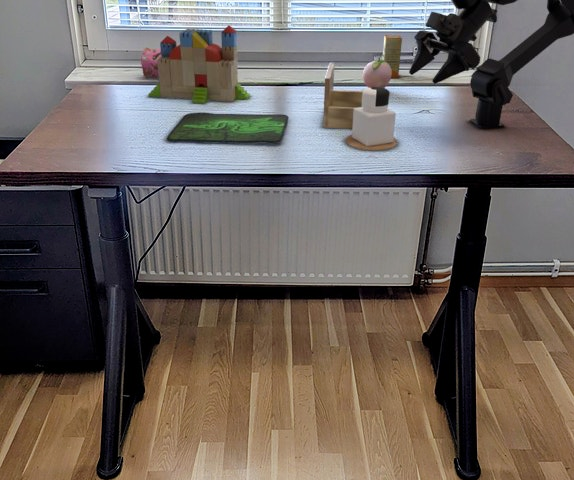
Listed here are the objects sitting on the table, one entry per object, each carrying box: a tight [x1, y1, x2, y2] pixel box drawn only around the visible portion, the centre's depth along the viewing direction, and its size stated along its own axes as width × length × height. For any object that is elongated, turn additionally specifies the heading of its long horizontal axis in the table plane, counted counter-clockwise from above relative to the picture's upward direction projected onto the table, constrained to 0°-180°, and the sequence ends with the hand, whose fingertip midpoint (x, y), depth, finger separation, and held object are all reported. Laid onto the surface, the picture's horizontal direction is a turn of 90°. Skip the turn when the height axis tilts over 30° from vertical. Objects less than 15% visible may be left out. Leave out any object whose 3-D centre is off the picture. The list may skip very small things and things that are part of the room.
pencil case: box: [140, 47, 162, 79], centre depth 198 cm, size 21×9×9 cm, turn 87°
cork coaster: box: [345, 134, 398, 152], centre depth 149 cm, size 12×12×1 cm
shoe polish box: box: [382, 34, 403, 79], centre depth 202 cm, size 5×5×12 cm
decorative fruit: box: [362, 56, 392, 89], centre depth 185 cm, size 9×8×10 cm
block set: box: [148, 25, 251, 104], centre depth 177 cm, size 28×14×19 cm, turn 80°
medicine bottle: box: [351, 86, 397, 146], centre depth 146 cm, size 7×7×12 cm
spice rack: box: [322, 62, 363, 130], centre depth 162 cm, size 12×17×12 cm
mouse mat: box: [166, 112, 289, 144], centre depth 156 cm, size 27×22×1 cm
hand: (421, 77), depth 146 cm, fingers open, 9 cm apart
